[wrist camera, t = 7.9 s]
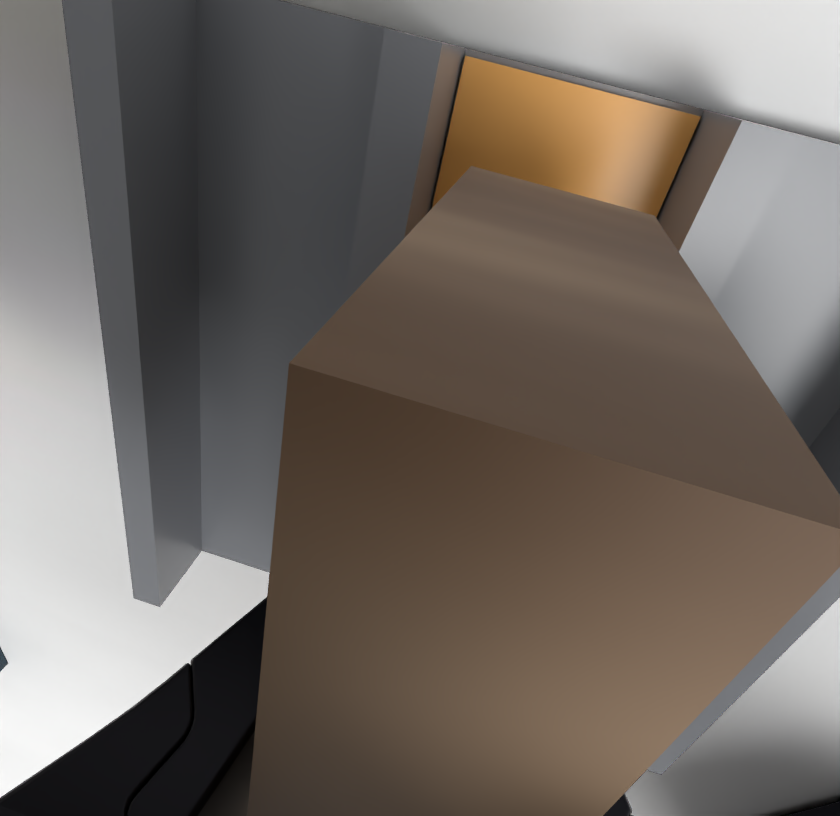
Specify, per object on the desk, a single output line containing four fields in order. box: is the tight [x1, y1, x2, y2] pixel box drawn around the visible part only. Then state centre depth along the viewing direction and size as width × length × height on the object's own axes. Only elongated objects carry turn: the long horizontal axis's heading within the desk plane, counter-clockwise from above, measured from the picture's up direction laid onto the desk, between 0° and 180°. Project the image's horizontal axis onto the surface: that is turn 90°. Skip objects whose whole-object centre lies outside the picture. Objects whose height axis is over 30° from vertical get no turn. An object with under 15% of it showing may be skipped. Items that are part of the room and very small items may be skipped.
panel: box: [247, 166, 840, 816], centre depth 8 cm, size 12×2×6 cm, turn 168°
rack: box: [62, 0, 840, 775], centre depth 12 cm, size 15×15×4 cm
